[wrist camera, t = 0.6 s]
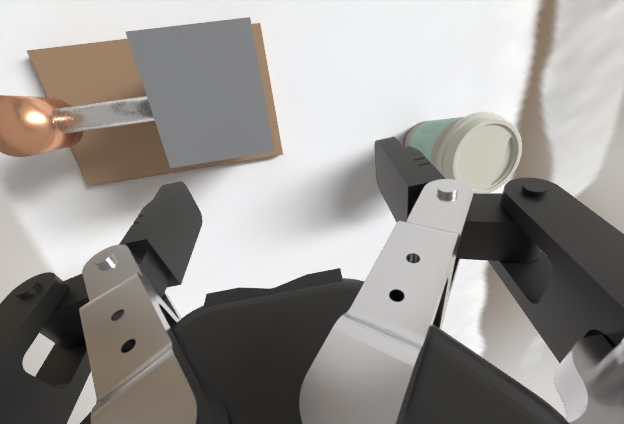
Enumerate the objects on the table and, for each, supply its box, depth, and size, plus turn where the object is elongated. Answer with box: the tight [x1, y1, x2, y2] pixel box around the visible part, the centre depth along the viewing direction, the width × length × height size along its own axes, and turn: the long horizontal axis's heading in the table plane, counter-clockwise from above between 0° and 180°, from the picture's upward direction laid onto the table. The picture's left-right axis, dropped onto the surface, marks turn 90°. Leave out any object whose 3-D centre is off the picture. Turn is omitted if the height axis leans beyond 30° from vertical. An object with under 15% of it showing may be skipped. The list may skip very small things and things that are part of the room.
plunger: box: [0, 95, 155, 157], centre depth 24 cm, size 14×4×5 cm, turn 99°
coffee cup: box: [404, 112, 522, 194], centre depth 33 cm, size 8×8×12 cm
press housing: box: [27, 17, 283, 186], centre depth 26 cm, size 23×14×14 cm, turn 99°
